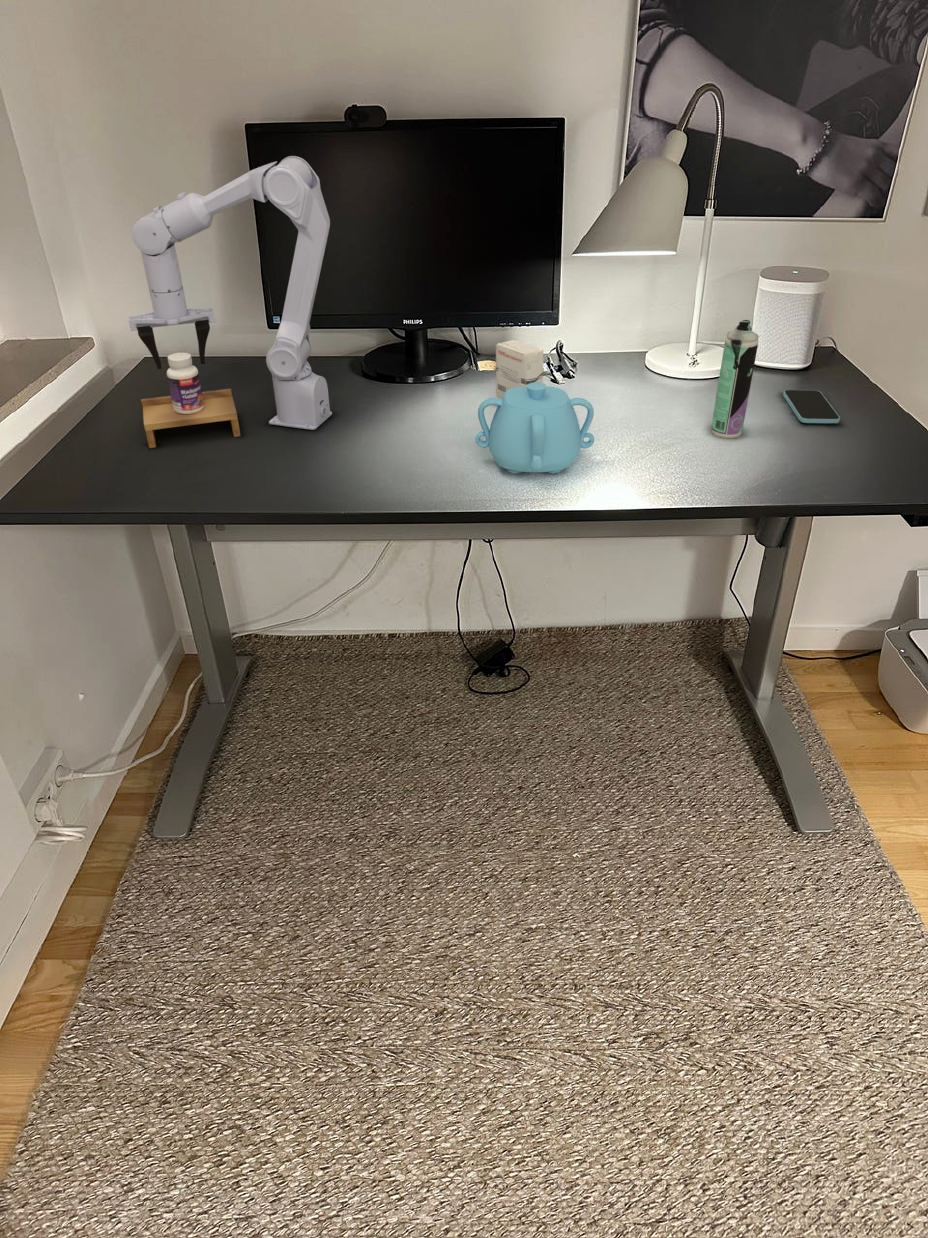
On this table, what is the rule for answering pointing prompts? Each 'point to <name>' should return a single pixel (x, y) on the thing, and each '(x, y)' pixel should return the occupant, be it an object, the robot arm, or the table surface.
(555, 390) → the decorative pot
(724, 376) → the spray can
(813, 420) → the smartphone
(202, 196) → the robot arm
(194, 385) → the pill bottle
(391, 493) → the table surface
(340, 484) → the table surface
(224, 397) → the desk shelf
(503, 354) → the ink box
